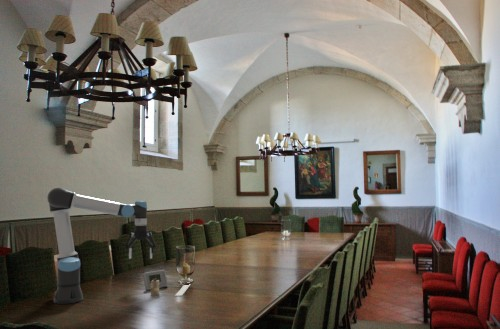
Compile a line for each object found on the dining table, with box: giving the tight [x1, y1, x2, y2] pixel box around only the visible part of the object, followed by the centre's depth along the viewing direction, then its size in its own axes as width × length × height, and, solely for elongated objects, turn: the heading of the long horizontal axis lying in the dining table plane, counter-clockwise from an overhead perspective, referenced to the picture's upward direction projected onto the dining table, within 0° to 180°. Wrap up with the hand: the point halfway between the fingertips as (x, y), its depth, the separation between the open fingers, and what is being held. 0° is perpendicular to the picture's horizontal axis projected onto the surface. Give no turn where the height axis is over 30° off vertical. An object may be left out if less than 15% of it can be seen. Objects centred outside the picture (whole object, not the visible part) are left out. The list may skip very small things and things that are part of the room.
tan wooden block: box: [150, 279, 160, 296], centre depth 243 cm, size 4×4×9 cm
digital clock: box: [142, 269, 169, 291], centre depth 261 cm, size 16×9×11 cm, turn 123°
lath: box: [174, 284, 192, 297], centre depth 256 cm, size 4×36×1 cm, turn 179°
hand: (140, 258), depth 261 cm, fingers open, 13 cm apart
